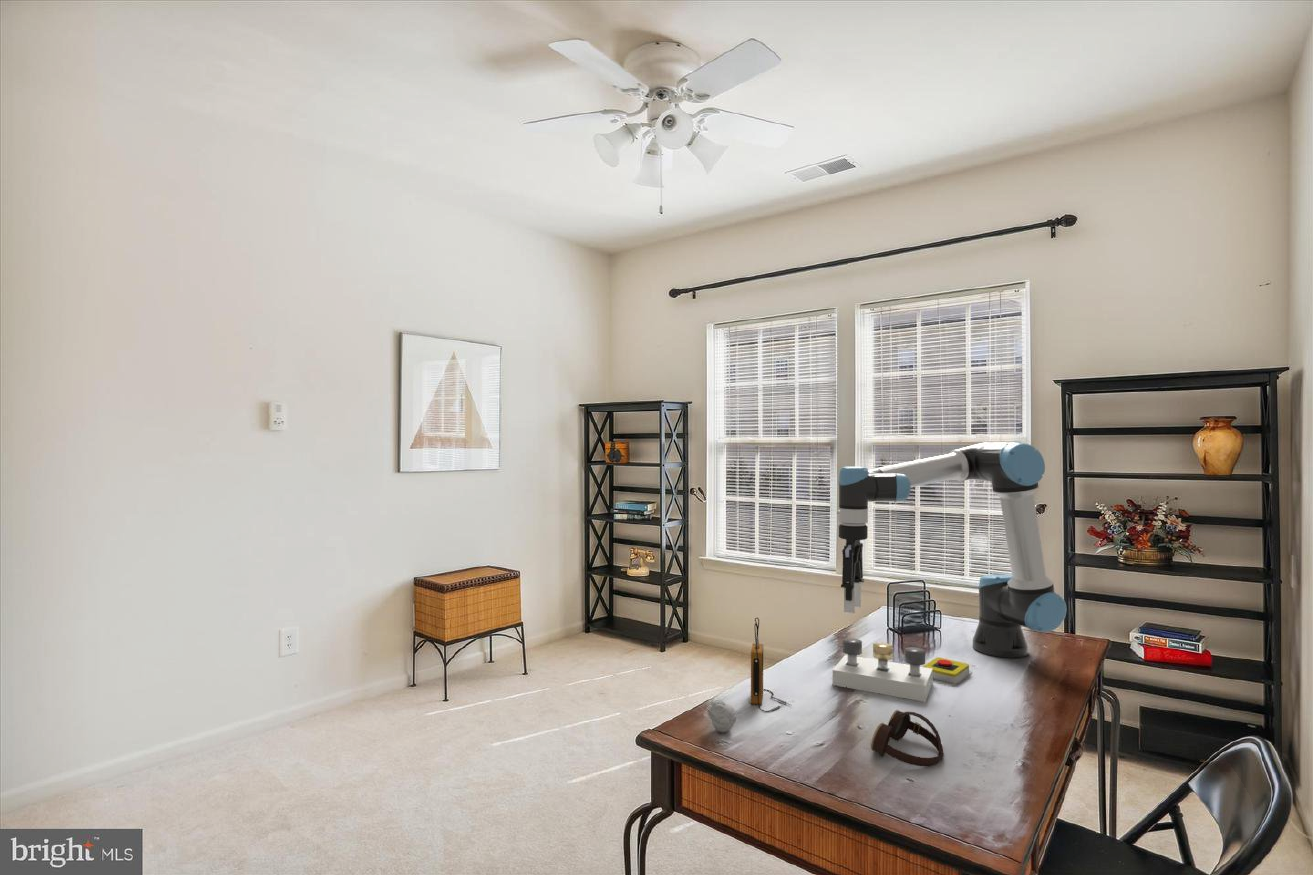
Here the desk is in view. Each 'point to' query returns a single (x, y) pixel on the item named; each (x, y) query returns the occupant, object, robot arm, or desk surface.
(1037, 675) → the desk surface
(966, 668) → the emergency button
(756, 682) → the multimeter
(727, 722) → the crumpled paper ball
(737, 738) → the desk surface
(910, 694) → the mount plate
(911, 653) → the knob near
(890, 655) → the knob middle
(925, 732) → the goggles
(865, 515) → the robot arm
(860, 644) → the knob far
